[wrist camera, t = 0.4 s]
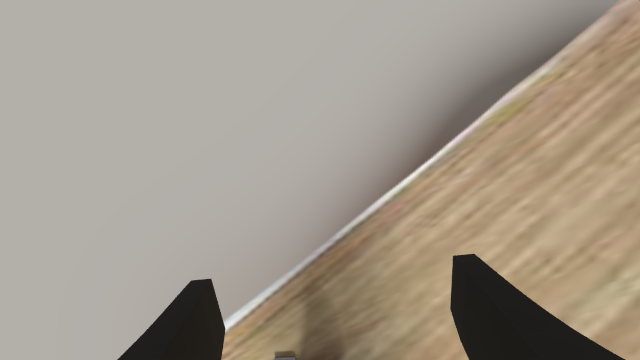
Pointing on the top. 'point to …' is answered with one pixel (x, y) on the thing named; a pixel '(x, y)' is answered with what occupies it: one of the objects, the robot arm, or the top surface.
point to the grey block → (285, 358)
